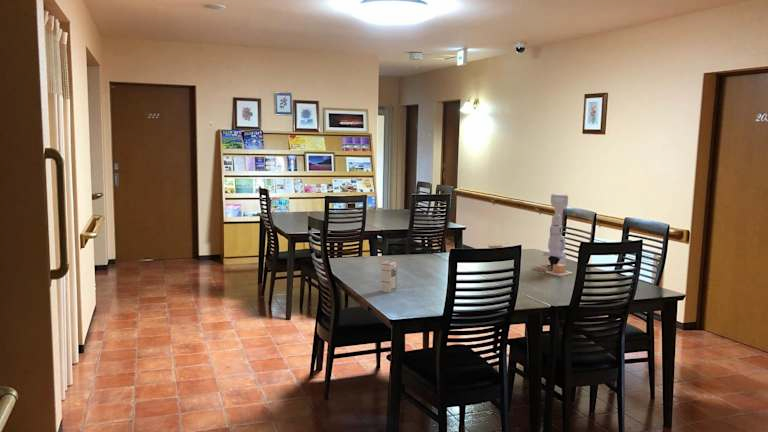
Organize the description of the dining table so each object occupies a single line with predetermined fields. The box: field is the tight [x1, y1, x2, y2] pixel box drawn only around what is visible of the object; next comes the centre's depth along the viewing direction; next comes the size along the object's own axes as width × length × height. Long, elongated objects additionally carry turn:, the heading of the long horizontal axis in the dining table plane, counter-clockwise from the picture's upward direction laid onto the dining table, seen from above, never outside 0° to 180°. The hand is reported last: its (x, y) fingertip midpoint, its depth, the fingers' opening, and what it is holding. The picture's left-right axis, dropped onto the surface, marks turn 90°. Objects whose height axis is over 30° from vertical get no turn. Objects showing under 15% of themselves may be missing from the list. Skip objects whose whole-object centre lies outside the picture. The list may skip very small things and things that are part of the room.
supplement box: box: [487, 243, 504, 249], centre depth 376 cm, size 8×5×13 cm, turn 84°
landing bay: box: [545, 270, 574, 277], centre depth 362 cm, size 11×10×1 cm
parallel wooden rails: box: [532, 264, 553, 273], centre depth 370 cm, size 8×11×2 cm
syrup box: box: [380, 260, 398, 293], centre depth 308 cm, size 6×6×14 cm
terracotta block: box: [552, 264, 567, 274], centre depth 362 cm, size 5×5×5 cm
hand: (553, 269), depth 365 cm, fingers closed
